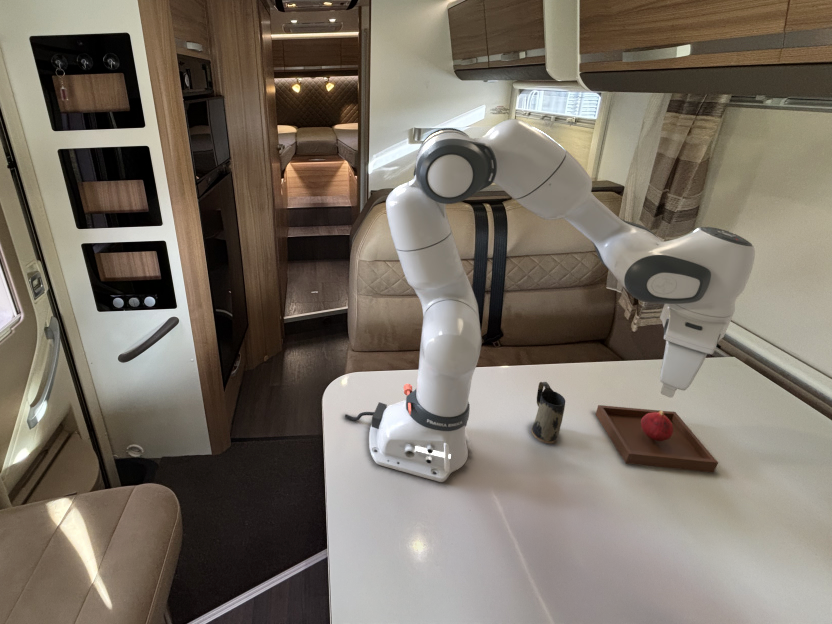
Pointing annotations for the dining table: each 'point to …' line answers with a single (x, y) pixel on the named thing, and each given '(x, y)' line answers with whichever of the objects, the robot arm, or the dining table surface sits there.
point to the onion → (657, 426)
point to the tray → (654, 441)
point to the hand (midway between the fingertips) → (669, 380)
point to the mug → (548, 414)
